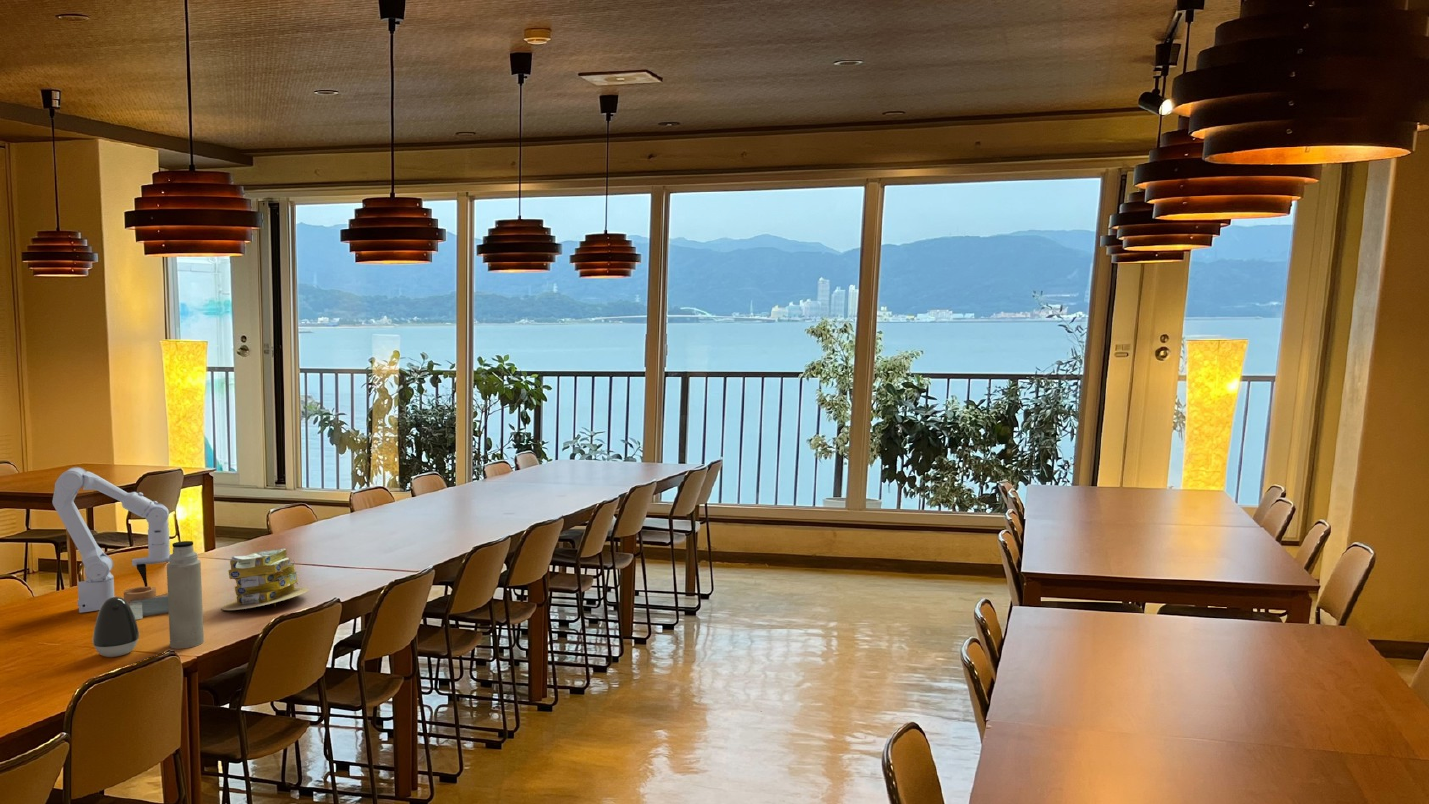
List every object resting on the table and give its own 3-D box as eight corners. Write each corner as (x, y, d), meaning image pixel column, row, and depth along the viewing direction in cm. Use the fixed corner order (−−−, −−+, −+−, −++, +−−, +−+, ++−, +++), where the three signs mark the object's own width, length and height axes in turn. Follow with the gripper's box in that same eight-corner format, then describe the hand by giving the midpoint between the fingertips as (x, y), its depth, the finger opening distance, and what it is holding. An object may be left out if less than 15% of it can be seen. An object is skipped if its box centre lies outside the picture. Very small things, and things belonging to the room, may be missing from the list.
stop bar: (130, 620, 272) (129, 603, 271) (130, 616, 275) (129, 600, 275) (196, 611, 281) (195, 594, 281) (195, 607, 285) (194, 591, 284)
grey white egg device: (94, 663, 235) (91, 605, 234) (92, 652, 244) (90, 595, 243) (141, 655, 241) (138, 598, 240) (138, 644, 250) (135, 589, 249)
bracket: (134, 618, 275) (133, 595, 275) (118, 614, 279) (117, 591, 279) (193, 602, 291) (192, 581, 290) (177, 599, 295) (176, 578, 294)
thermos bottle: (180, 639, 254) (175, 539, 252) (209, 638, 254) (205, 538, 253) (163, 648, 246) (159, 545, 244) (194, 648, 246) (189, 545, 245)
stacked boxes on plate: (202, 611, 281) (200, 557, 280) (264, 590, 304) (262, 540, 303) (268, 618, 273) (266, 563, 272) (326, 596, 297) (325, 545, 296)
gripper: (184, 538, 299) (185, 579, 299) (131, 543, 291) (133, 586, 291) (185, 542, 293) (187, 584, 293) (131, 547, 285) (133, 590, 286)
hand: (160, 585), depth 292 cm, fingers open, 7 cm apart
